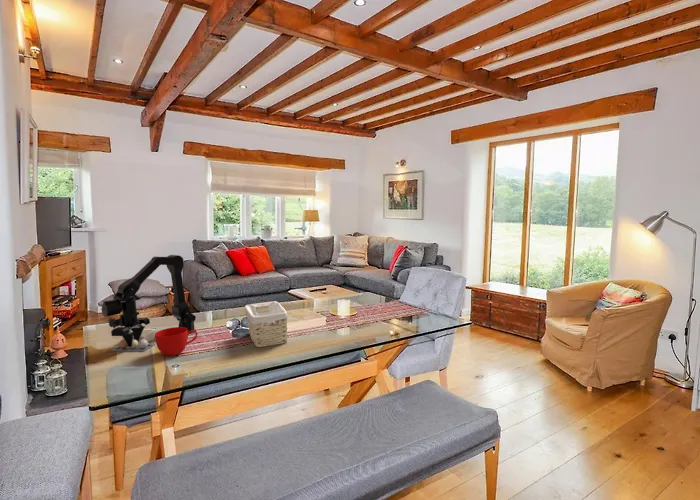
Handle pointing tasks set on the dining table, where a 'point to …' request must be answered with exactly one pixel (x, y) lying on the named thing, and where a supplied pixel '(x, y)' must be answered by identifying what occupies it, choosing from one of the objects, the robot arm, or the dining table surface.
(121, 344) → the orange tan ball
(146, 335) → the stoneware dish
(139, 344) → the glossy white ball
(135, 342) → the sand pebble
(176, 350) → the ceramic cup
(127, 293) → the robot arm
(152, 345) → the slate tray
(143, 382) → the dining table surface
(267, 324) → the storage basket
